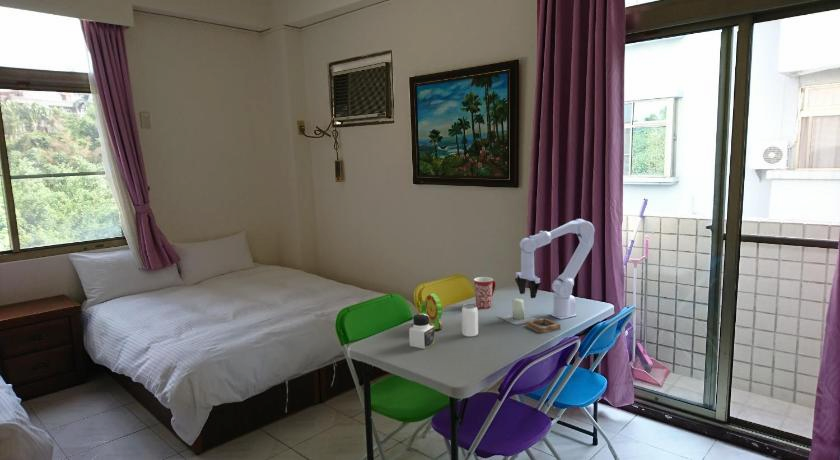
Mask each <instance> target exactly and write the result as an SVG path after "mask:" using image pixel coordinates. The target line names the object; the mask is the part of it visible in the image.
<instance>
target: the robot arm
mask: <svg viewBox="0 0 840 460" xmlns="http://www.w3.org/2000/svg"><path fill="white" fill-rule="evenodd" d="M595 229H596V228H595V227H594V225H593V223H592V222H590V221H588V220H585V219H582V218H576V219H575V220H570V221H569V222H566V223H565V224H563V225H560V226H559V227H556V228H554V229H552V230H551V231H547V230H540V231H539V233H537V234H534V235H529V236H528V237H524V238H522V239H521V240H520V242H519V243H518V245H519V248H520V250H521V251H520V271H517V272H515V278H514V281H515V282H516V285H517V287H518V290H519V291H518V292H519V294H520V295H523V294H524V295H525V293H526V285H528V287H529V294H530V295H529V296H530V298H531V299H535V298H536V296H537V293H538V290H539V288H540V286H541V285H542V282H541V278H540V277H538V276H537V275H535V251H536V249H539V248H541V247H544V246H546V245H549V244H550V243H551V242H552V240H553V239H555V238H559V237H561V236H564V235H566V234H568V233H569V234H570V233H571V234H576V235H577V238H578V240H579V243H578V246H577V247H576V249H575V250H574V253H573V254H572V256H571V258H570V260H569V262H568V263H567V265H566V267H565V269H564V270H563V272H562V273H561V274H559V275H558V277H557V278H556V279H555V280H554V281H553V282H552V283H551V289H552V291H553V297H552V299H553V300H552V302H553V303H552V304H553V305H552V307H553V308H552V312H550V313H548V315H549V316H552V317H554V318H557V319H558V320H563V319H568V318H573V317H577V315H578V314H577V313H576V310H577V308H576V307H577V303H576V302H577V301H576V298H575V296H574V295H572V293H573V287H574V285H575V279H576V277H577V274H578V273H579V271H580V269H581V267H582V266H583V263H584V262H585V260H586V258H587V256H588V255H589V253H590V251H591V250H592V248H593V246H594V243H595V241H594V240H595V232H596V230H595ZM527 281H528V282H527Z"/></svg>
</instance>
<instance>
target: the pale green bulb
mask: <svg viewBox="0 0 840 460" xmlns="http://www.w3.org/2000/svg"><path fill="white" fill-rule="evenodd" d="M511 301H512V302H511V303H512V304H511V305H512V314H513V319H515V320H522V319H524V314H525V299H522V298H513V299H512V300H511Z"/></svg>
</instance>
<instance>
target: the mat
mask: <svg viewBox="0 0 840 460" xmlns="http://www.w3.org/2000/svg"><path fill="white" fill-rule="evenodd" d="M498 317H499V319H501V320H503V321H505V322H508V323H510V324H511V325H514V326H519V325H520V326H521V325H524V324H525V325H526V322H527V321H532V320H536V319H537V318H535V317H533V316H531V315H528V314H526V313H524V319H522V320H515V319H513V313H511V314H507V315H501V316H498Z"/></svg>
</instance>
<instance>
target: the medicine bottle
mask: <svg viewBox="0 0 840 460" xmlns="http://www.w3.org/2000/svg"><path fill="white" fill-rule="evenodd" d="M426 314H427V313H426ZM426 314H421V313H418V314H415V315H413V317H412V318H413V319H412V320H413V326H411V327H410V328H409V329H408V333H409V334H408V337H409V347H413V348H417V349H423V350H426V349H428V348H429V347H430V346H432V345H434V344H435V330H434V326H430V325H429V316H428V315H426Z"/></svg>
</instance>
